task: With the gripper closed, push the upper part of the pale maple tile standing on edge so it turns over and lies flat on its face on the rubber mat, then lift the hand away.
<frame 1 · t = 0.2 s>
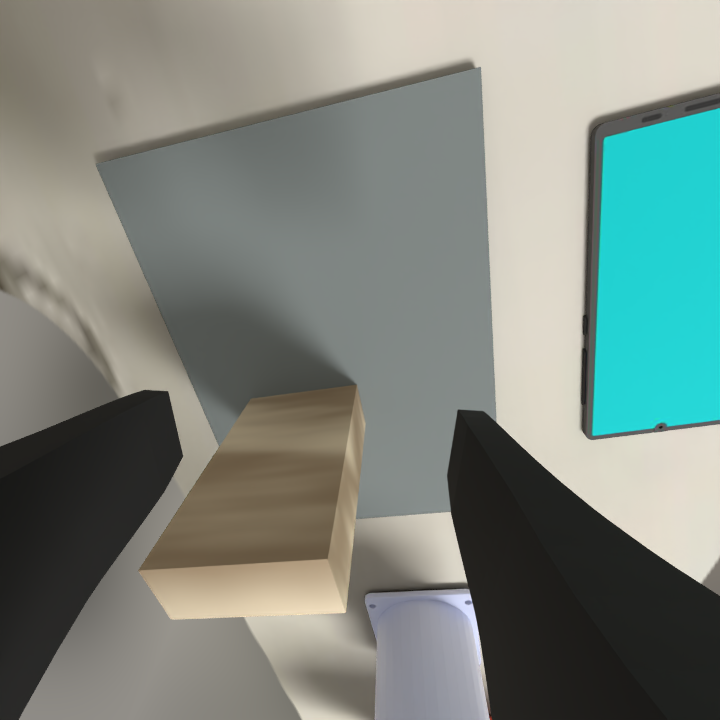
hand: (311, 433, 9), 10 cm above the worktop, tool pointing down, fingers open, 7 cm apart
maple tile: (308, 411, 20), resting on rubber mat
smartphone: (661, 289, 17), on the worktop
rubber mat: (334, 362, 19), on the worktop
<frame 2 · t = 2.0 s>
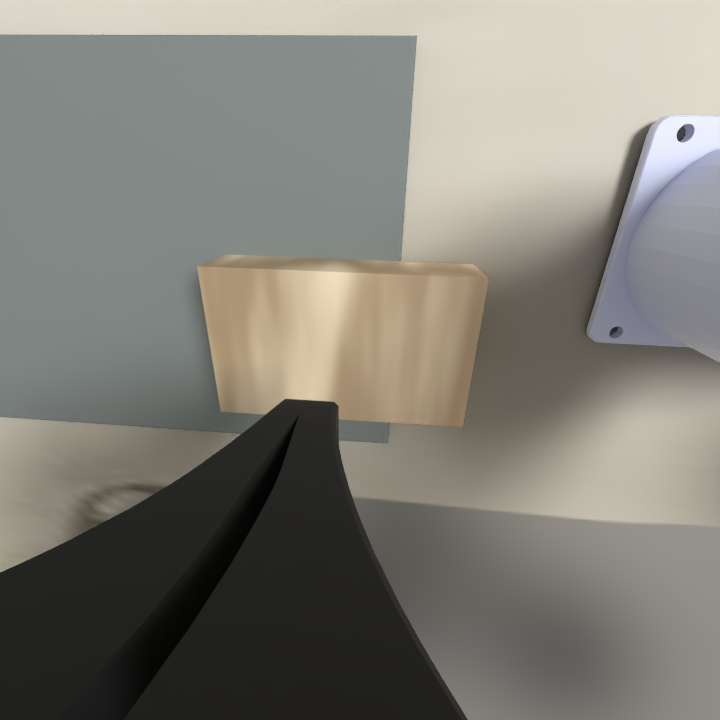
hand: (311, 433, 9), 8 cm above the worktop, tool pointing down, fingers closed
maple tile: (223, 333, 15), point 2 cm above the worktop, tilted 90°, touching rubber mat
rubber mat: (148, 272, 16), on the worktop
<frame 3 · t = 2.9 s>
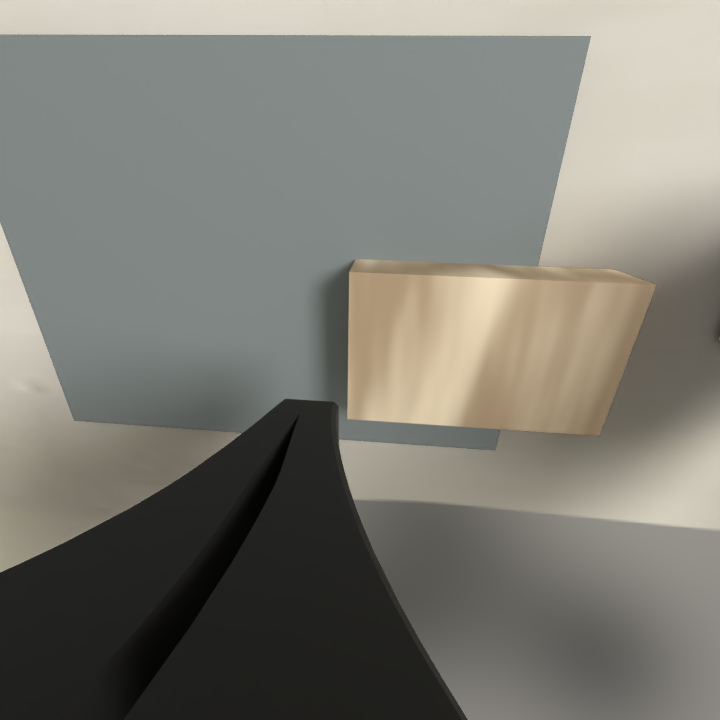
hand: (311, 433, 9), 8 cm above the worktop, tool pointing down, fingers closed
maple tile: (351, 339, 15), point 2 cm above the worktop, tilted 90°, touching rubber mat
rubber mat: (267, 277, 16), on the worktop
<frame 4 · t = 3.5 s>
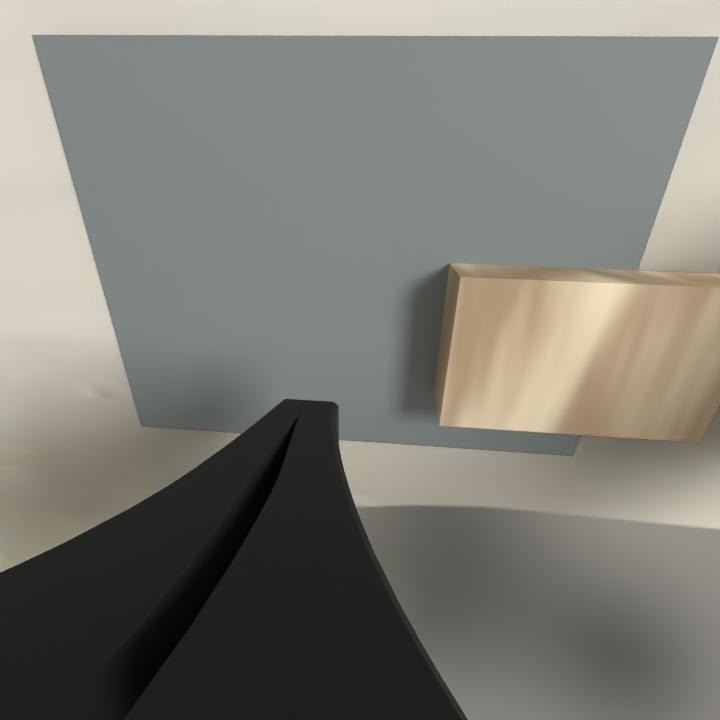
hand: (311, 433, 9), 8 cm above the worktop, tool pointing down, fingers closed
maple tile: (444, 345, 15), point 2 cm above the worktop, tilted 90°, touching rubber mat
rubber mat: (353, 281, 16), on the worktop
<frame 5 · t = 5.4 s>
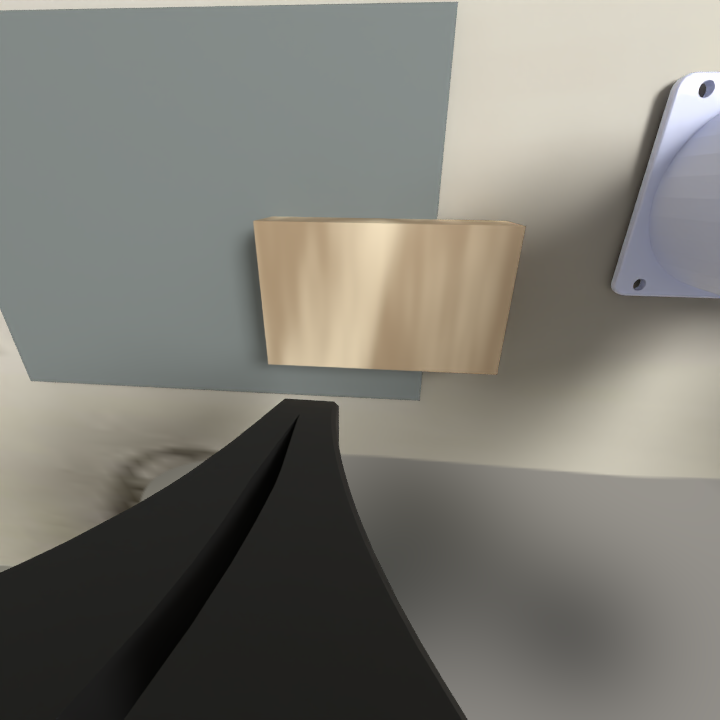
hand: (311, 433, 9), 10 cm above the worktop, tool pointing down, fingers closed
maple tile: (270, 291, 16), point 2 cm above the worktop, tilted 90°, touching rubber mat
rubber mat: (196, 236, 17), on the worktop
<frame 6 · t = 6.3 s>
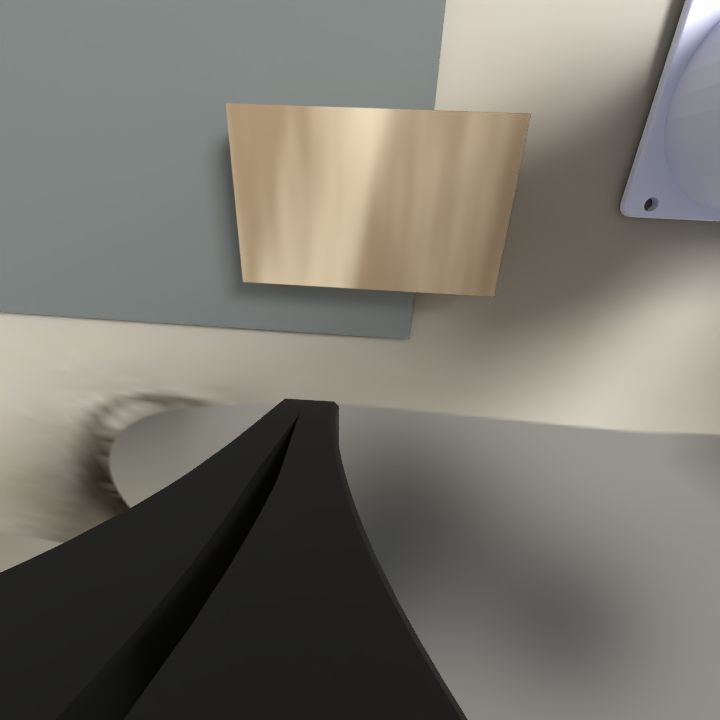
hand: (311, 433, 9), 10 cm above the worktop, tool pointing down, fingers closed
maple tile: (247, 200, 15), point 2 cm above the worktop, tilted 90°, touching rubber mat
rubber mat: (168, 143, 16), on the worktop
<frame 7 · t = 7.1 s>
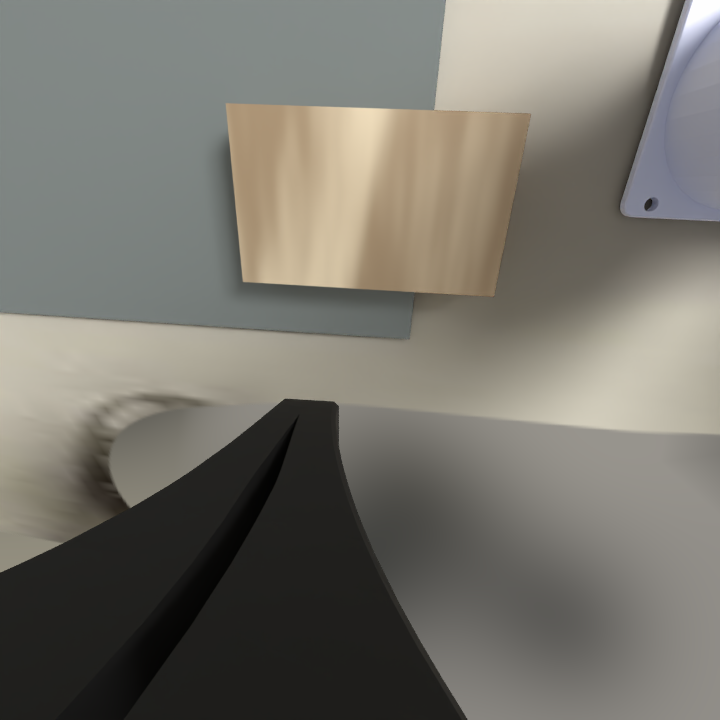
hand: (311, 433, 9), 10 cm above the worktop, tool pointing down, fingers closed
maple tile: (247, 200, 15), point 2 cm above the worktop, tilted 90°, touching rubber mat
rubber mat: (168, 143, 16), on the worktop
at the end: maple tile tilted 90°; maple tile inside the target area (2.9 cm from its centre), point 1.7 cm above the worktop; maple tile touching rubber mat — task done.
